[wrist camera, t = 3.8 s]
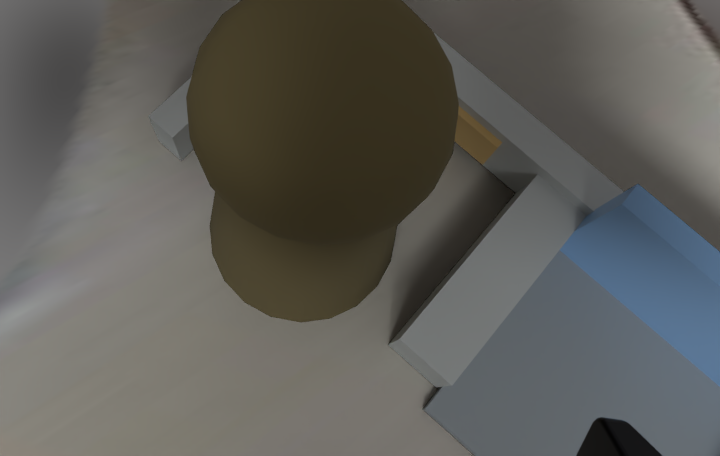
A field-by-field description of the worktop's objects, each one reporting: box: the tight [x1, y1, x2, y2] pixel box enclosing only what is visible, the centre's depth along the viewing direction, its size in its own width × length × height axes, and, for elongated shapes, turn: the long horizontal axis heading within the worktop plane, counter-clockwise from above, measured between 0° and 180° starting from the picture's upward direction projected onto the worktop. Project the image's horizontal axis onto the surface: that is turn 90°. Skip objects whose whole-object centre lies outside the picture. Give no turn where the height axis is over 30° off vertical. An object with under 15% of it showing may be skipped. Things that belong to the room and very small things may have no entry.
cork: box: [186, 0, 459, 322], centre depth 17 cm, size 6×6×11 cm
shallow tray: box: [148, 33, 720, 456], centre depth 20 cm, size 9×22×5 cm, turn 49°
